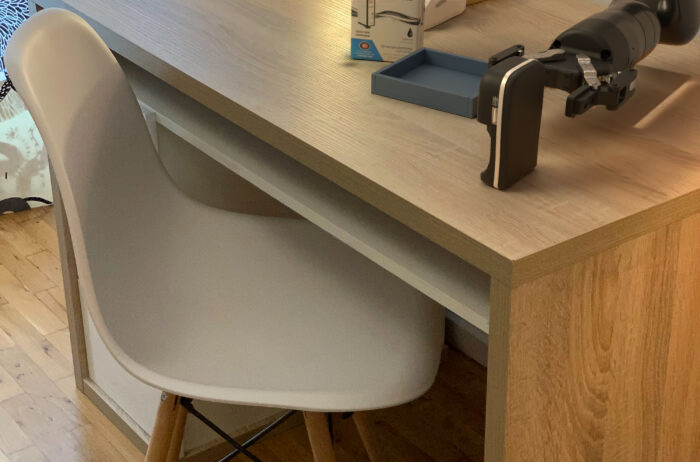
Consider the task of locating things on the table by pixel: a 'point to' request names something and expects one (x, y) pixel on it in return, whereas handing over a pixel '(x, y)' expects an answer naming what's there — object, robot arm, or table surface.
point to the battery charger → (511, 118)
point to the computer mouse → (441, 11)
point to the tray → (433, 81)
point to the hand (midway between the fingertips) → (528, 98)
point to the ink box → (386, 28)
